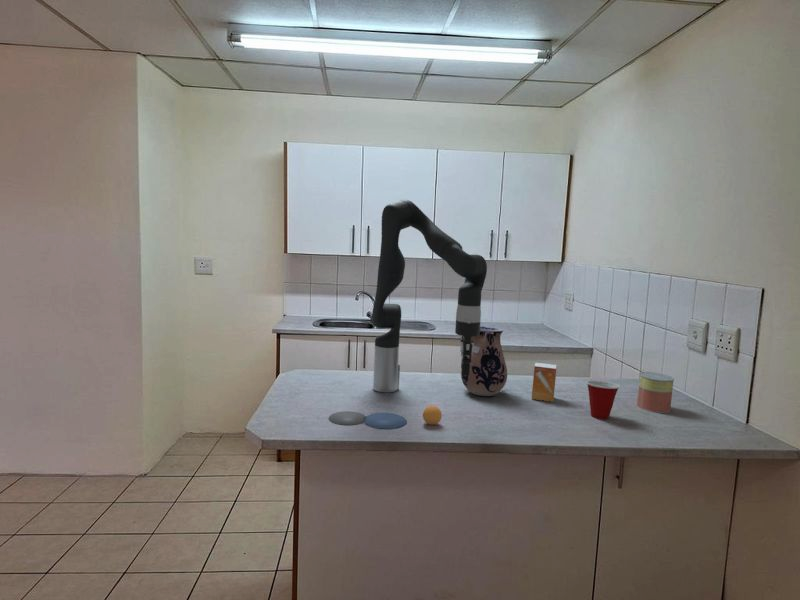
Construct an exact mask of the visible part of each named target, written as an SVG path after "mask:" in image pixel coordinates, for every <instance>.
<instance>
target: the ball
mask: <svg viewBox="0 0 800 600" xmlns="http://www.w3.org/2000/svg"><path fill="white" fill-rule="evenodd" d="M442 417H443V415H442V411H441V409H440V408H439V407H438V406H436V405H429V406H427V407H425V408H424V410H423V413H422V418H423V419H422V420H423V421H424V422H425V423H426V424H427V425H430V426H434V425H437V424H439V423H440V422H441V420H442Z"/></svg>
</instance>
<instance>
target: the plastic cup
mask: <svg viewBox="0 0 800 600" xmlns="http://www.w3.org/2000/svg"><path fill="white" fill-rule="evenodd" d="M586 384H587V388H588V400H589V401H588V402H589V406H590V407H589V410H590V416H591V417H593V418H595V419H597V420H598V419H599V420H608V419H609V417H610V416H611V411H612V409H613V406H614V402H615V398H616V395H617V393H618V390H619V389H620V387H621V386H620V385H619V384H617V383H613V382H610V381H609V382H608V381H603V380H586Z"/></svg>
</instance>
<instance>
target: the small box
mask: <svg viewBox="0 0 800 600" xmlns="http://www.w3.org/2000/svg"><path fill="white" fill-rule="evenodd" d="M557 367H558V366H557V364H549V363H542V362H541V363H540V362H535V363H534V367H533V368H534V369H533V377H532V391H531V399H532V400H535V399H536V400H535V401H542V400H544V402H549V401H551V403H553V402H554V399H555V390H556V389H555V388H556V377H557V369H558V368H557Z"/></svg>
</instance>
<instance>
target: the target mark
mask: <svg viewBox="0 0 800 600" xmlns="http://www.w3.org/2000/svg"><path fill="white" fill-rule="evenodd" d="M365 416H366V418H364V419H366V420H365V421H364V420H363V421H364V422H363V423H364V424H365V425H366V426H368V427H370V426H371V427H370V428H373V427H374V428H375V429H378V428H379V430H394V428H395V429H399V428H402V427H405V425H407V423H408V420H407V418H405V417H404V416H403V415H399V414H397V413H392V412H391V413H390V412H375V413H370V414H368V415H365Z"/></svg>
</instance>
